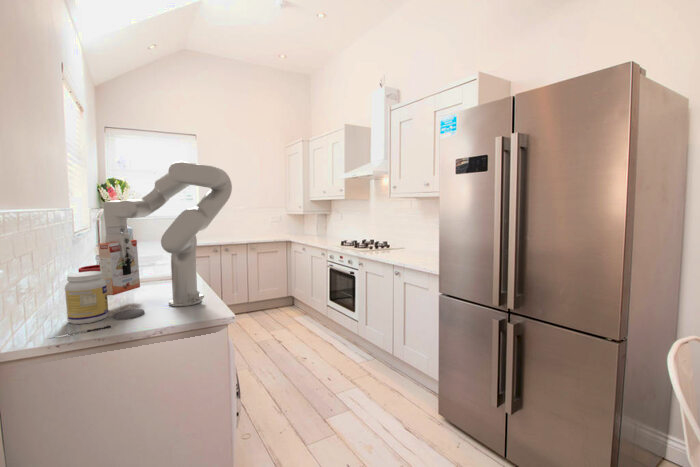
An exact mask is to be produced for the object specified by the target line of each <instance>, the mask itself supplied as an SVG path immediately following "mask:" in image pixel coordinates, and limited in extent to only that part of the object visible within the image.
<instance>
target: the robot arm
mask: <svg viewBox="0 0 700 467" xmlns="http://www.w3.org/2000/svg"><path fill="white" fill-rule="evenodd" d="M167 171H168V172H167V173H166V174H164V175H163V176H161V177H160V178H158V179H157V180H155V182H154V188H153V189H152V190H151V191H150V192H149V193H147V194H145V196H143V197H141V198H139V199H126V200H108V201H106V200H105V202H103V203H102V206H103V208H102V209H103V218H104V219H103V220H104V227H105V229H104V230H105V238H104V240H105V242H104V243H106V242H118V243H119V250H120V257H121V259H122V262H123V265H124V266H123V275H129V274H131V264H132V263H131V262H132V261H133V259H134V258H135V255H134V254H133V248H132V242H131V240H132V239H131V236H130V233H128V223H127V219H139V218H145V217H148V216H150V215H151V214H153V213H154V212H156V211H157V210H159V209H160V208H161V207H163V206H164V205H166V203H167V202H168V201H170V199H171V198H172V197H174V196H176V195H177V194H178V193H180V192H181V191H184V190H185V189H186V188H187V187H190V186H194V187H195V186H197V187H202V188H203V187H204V188H208V189H209V190H208V191H207V192H206V194H204V195H203V197H202V198H201V199H200V201H199V202H198V203H197V204H196V205H195V206H194V207H191V208H189V207H188V208H186V209H184V210H183V211H182V212H180V213H179V214H178V216H177V217H175V219H174V220H173V221H172V223H171V224H170V225H169V226H168V227H167V229H166V230H165V231H164V233H163V234H162V236H161V238H160V244H161V247H162V249H163V250H164V251H165V252H166V253H168V254H171V255H170V270H171V272H170V273H171V288H172V299H170V300H169V301H168V305H169V306H170V307H189V306H194V305H197V304H200V303H201V302H202V301H203V299H204V298H205V295H204V294H200V291H199V290H198V279H197V278H198V276H197V244H198V241H197V240H198V239H197V236H196V235H197V234H198V233H199V232H200V231H203V230H205V229H207V228H208V226H210V224H211V223H212V222H213V220H214V219H215V218H216V217H217V215H218V214H219V213H220V211H221V210H222V208H223V207H224V206H225V205H226V203H227V202H228V201H229V199H230V198H231V195H232V191H233V184H232V181H231V178H230V176H229V175H228V173H227V172H226V171H225V170H224V169H221V168H219V167H216V166H213V165H208V164H207V165H206V164H201V163H199V164H198V163H192V162H188V161H183V160H179V161H175V162H173V163H172V164H170V165H169V168H168V170H167ZM128 255H129V256H128ZM125 256H127V257H125ZM125 259H127V261H125Z"/></svg>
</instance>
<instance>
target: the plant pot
mask: <svg viewBox="0 0 700 467" xmlns="http://www.w3.org/2000/svg"><path fill="white" fill-rule="evenodd" d="M88 271H100V264H93V265H85V266H81V267H79V268H78V273H79V272H88Z"/></svg>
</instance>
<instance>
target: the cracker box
mask: <svg viewBox="0 0 700 467" xmlns="http://www.w3.org/2000/svg"><path fill="white" fill-rule="evenodd" d="M131 242H132V248H133V254H134V255H135V258H134V259H133V261H132V262H131V263H132V264H131V274H129V275H123V266H124V265H123V262H122V259H121V257H120V250H119V243H118V242H106V243H105V242H101V243H100V242H99V243H97V246H98V248H97V249H98V260H99V265H100V271H101V272H103V277H102V279H104V280H105V281H106V286H107V296H115V295H119V294H122V293H125V292H129V291H131V290H135V289H139V288H141V282H140V280H141V279H140V268H139V253H138V244H137V243H138V241H137V239H131ZM128 256H129V255H128ZM125 257H127V256H125ZM125 261H127V259H125Z"/></svg>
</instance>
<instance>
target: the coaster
mask: <svg viewBox="0 0 700 467" xmlns="http://www.w3.org/2000/svg"><path fill="white" fill-rule="evenodd" d="M144 314H145V309H142V308H129V309H124V310H119V311H117V312H115V313H113V314H112V318H113V319H115V320H121V321H122V320H130V319H136V318H139V317H142V316H144Z"/></svg>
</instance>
